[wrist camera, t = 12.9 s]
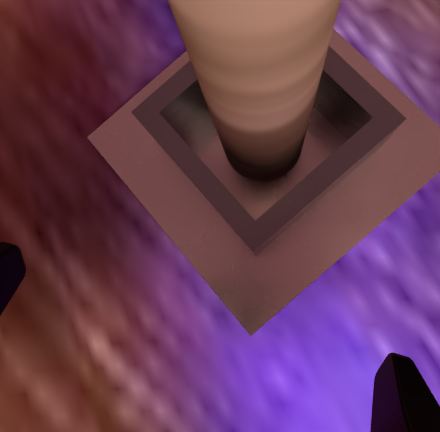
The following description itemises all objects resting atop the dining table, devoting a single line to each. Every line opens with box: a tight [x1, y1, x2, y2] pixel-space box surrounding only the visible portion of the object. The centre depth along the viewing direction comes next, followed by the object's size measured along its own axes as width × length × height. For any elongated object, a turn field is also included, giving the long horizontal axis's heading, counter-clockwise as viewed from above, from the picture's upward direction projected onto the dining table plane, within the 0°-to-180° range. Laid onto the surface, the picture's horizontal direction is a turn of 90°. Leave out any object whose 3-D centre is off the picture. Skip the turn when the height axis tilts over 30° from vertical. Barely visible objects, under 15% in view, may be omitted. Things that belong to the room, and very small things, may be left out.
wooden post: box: [168, 0, 341, 181], centre depth 11 cm, size 4×4×12 cm
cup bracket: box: [87, 29, 440, 335], centre depth 16 cm, size 12×12×4 cm
